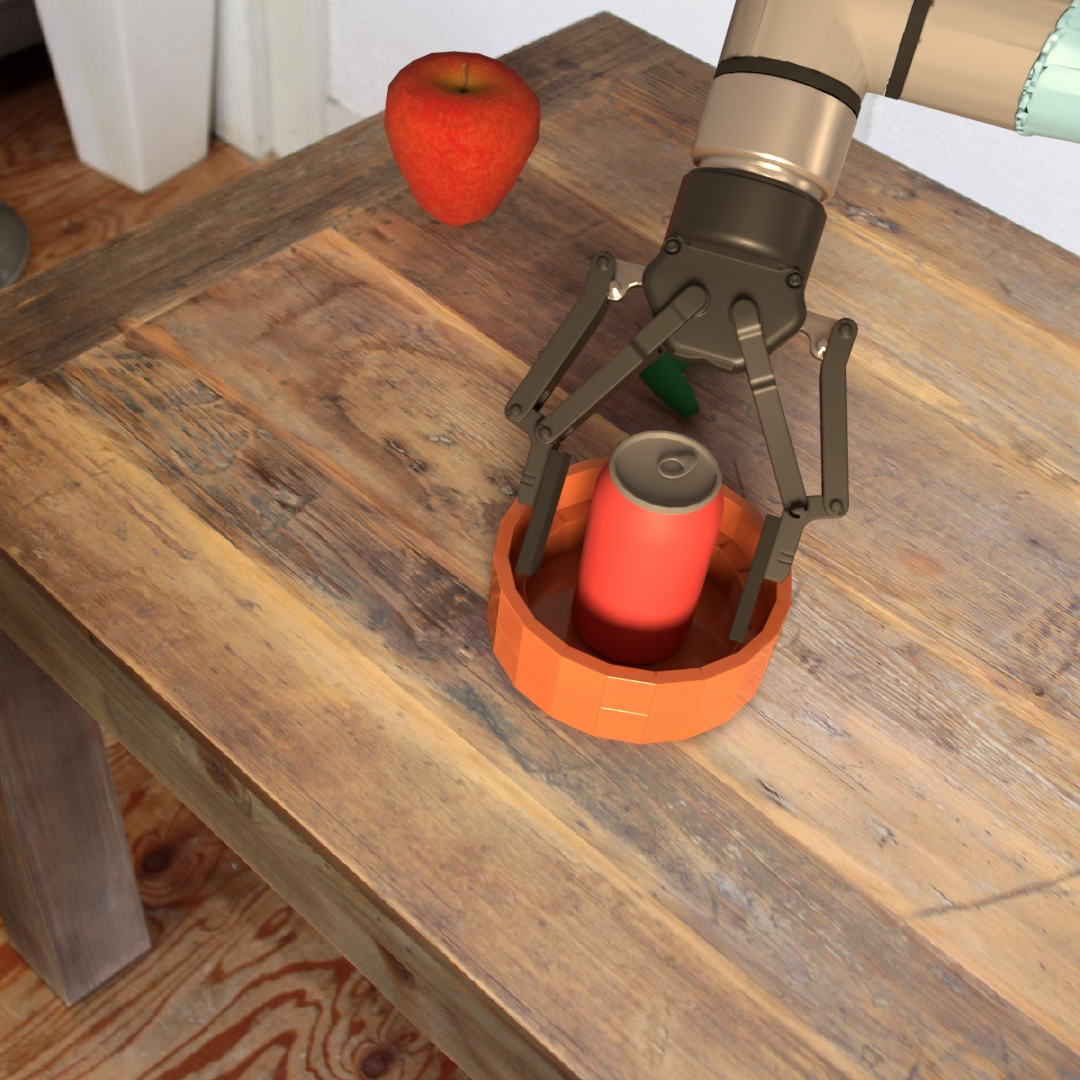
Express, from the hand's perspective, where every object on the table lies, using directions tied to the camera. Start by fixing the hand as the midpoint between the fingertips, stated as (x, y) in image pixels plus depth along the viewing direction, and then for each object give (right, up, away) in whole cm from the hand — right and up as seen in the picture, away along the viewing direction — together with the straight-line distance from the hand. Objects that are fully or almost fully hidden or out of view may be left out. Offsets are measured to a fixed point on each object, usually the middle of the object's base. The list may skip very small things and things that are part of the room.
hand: (629, 605), depth 69 cm
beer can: (0, -1, +5) cm, 5 cm away
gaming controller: (+5, +15, +21) cm, 26 cm away
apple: (-11, +28, +31) cm, 43 cm away
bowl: (0, -2, +6) cm, 6 cm away
